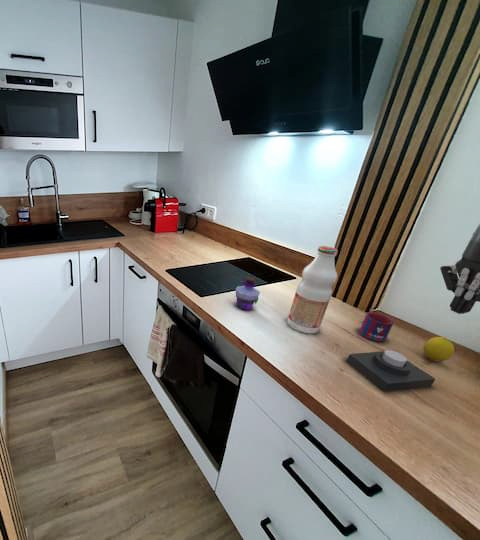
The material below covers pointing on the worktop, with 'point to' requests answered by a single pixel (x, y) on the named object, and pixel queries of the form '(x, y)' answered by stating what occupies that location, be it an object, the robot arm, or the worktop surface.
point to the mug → (376, 327)
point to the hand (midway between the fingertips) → (457, 311)
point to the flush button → (394, 358)
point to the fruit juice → (314, 292)
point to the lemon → (438, 349)
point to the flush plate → (389, 372)
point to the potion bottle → (247, 294)
